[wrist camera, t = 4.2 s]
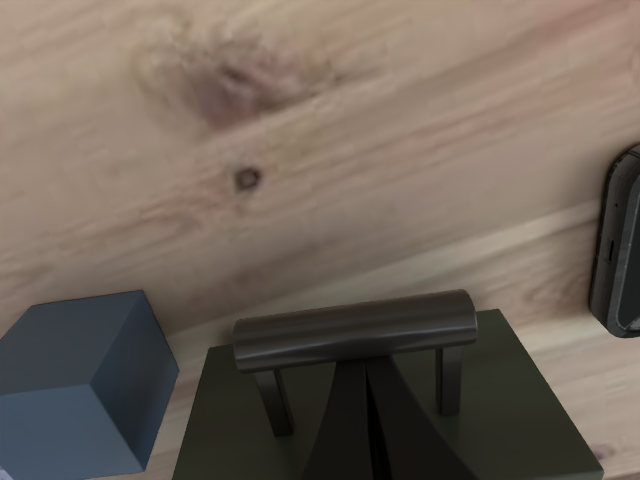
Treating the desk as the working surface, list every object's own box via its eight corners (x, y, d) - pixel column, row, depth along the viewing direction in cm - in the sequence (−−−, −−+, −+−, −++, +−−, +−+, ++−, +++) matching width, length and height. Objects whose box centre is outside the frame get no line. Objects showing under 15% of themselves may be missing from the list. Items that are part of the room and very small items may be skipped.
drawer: (173, 258, 14) (88, 421, 8) (509, 209, 13) (652, 349, 8) (272, 511, 22) (262, 676, 17) (481, 487, 22) (541, 648, 16)
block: (81, 383, 18) (19, 487, 14) (30, 305, 16) (-60, 403, 12) (179, 370, 18) (144, 472, 14) (142, 289, 15) (88, 384, 12)
